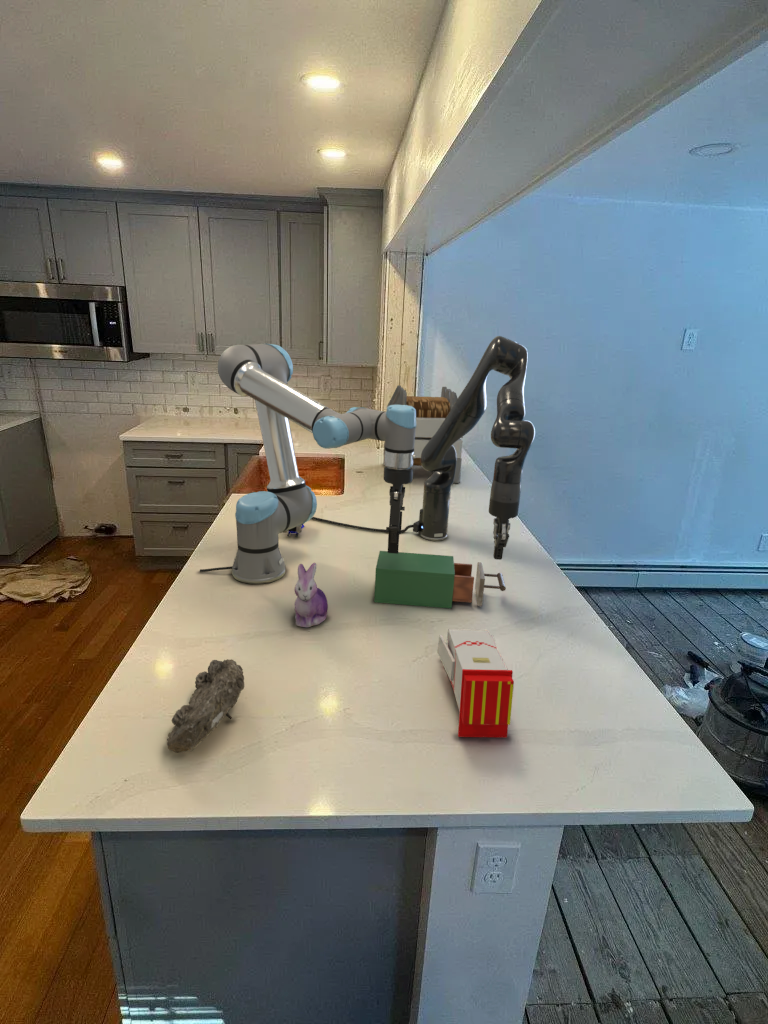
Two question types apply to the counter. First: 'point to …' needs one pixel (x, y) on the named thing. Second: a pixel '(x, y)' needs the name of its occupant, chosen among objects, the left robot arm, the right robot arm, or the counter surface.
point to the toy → (478, 682)
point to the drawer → (466, 581)
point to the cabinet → (414, 579)
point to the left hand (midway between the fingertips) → (394, 542)
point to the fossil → (206, 705)
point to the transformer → (429, 420)
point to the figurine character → (294, 530)
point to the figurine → (309, 599)
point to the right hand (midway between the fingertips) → (497, 558)
